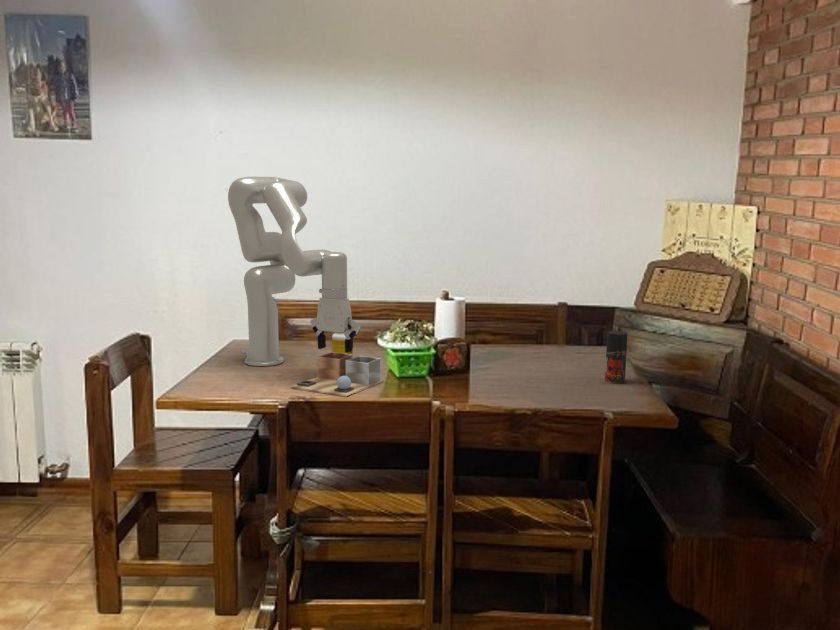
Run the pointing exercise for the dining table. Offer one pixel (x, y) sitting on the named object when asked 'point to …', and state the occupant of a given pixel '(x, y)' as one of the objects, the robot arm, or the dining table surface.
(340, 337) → the supplement bottle
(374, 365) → the stand
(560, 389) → the dining table surface
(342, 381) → the slate ball
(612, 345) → the deodorant
